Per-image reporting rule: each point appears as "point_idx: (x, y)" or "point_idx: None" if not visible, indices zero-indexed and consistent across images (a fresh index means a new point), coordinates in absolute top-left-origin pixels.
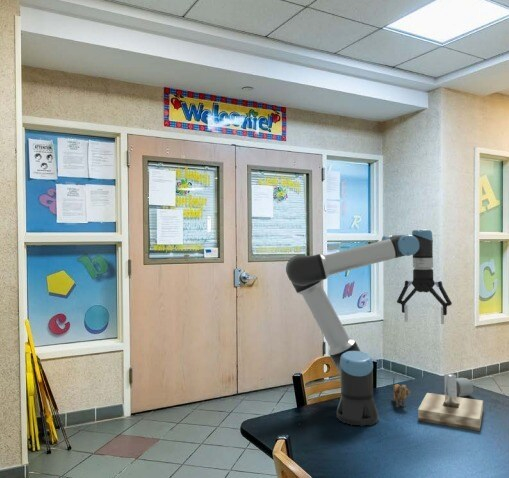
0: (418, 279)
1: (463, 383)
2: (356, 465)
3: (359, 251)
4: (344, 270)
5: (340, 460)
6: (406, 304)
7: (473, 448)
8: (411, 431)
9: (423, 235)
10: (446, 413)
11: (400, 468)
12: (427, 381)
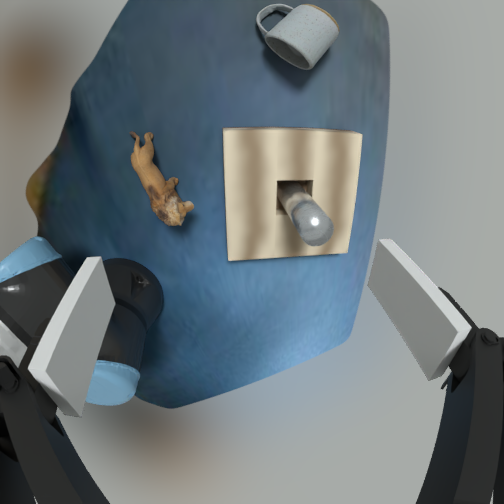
0: None
1: (320, 51)
2: (198, 391)
3: None
4: None
5: (178, 390)
6: (37, 372)
7: (323, 305)
8: (228, 297)
9: None
10: (288, 254)
11: (242, 379)
12: None
